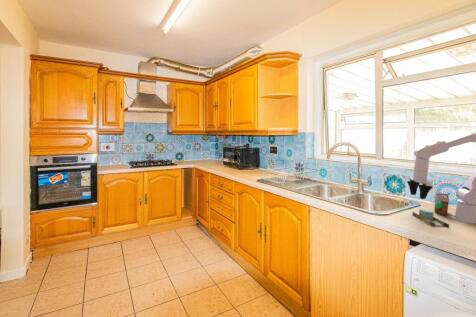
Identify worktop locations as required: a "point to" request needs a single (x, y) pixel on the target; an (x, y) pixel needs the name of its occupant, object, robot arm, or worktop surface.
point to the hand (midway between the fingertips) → (417, 196)
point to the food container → (441, 203)
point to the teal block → (426, 214)
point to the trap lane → (432, 221)
